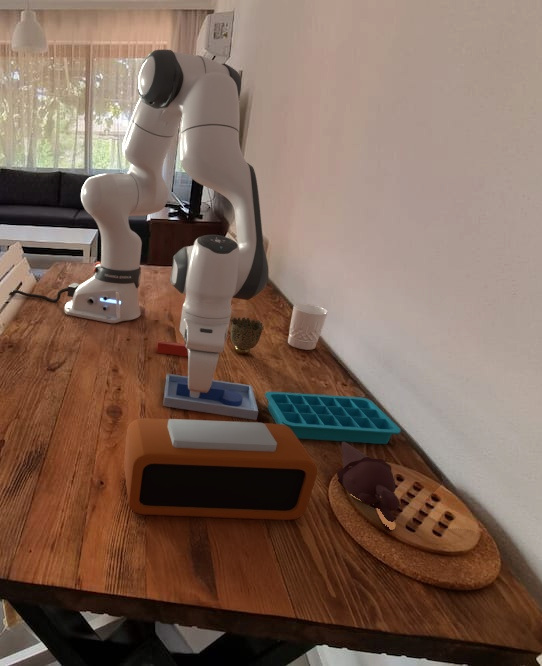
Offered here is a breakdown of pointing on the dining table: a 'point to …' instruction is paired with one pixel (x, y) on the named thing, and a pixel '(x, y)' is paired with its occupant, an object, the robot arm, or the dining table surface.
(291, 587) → the dining table surface
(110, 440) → the dining table surface
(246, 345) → the cup
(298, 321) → the white cup
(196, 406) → the blue tray
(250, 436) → the alarm clock
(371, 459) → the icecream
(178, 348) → the red spoon
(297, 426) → the ice cube tray
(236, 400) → the blue spoon
